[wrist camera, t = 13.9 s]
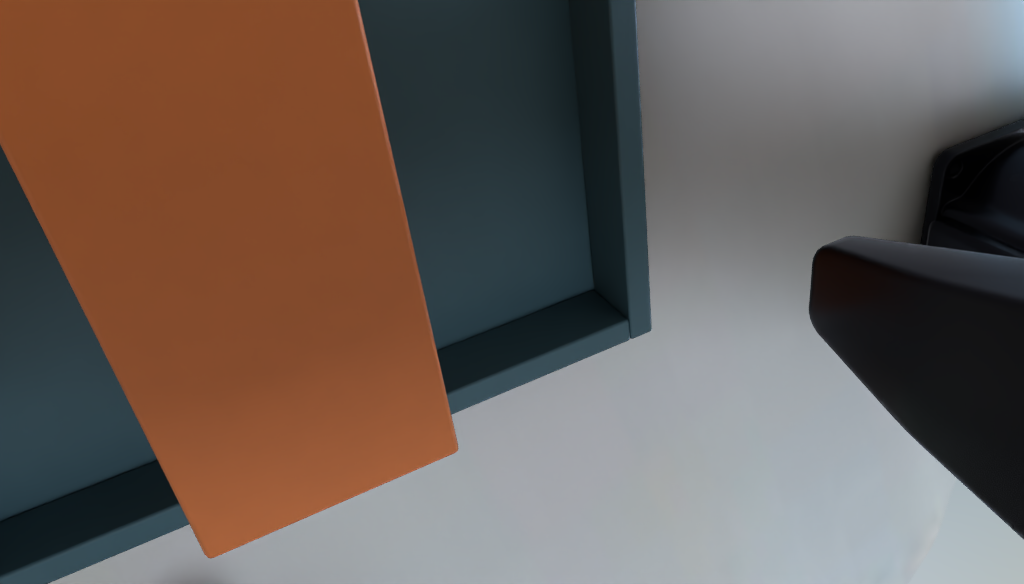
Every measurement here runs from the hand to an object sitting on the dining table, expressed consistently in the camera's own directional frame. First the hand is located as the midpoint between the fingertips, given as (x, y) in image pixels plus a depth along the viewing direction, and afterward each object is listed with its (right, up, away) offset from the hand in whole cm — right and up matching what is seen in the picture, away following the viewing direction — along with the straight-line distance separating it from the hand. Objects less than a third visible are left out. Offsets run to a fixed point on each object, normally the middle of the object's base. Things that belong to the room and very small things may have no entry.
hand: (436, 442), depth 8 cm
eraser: (-5, +4, +7) cm, 9 cm away
